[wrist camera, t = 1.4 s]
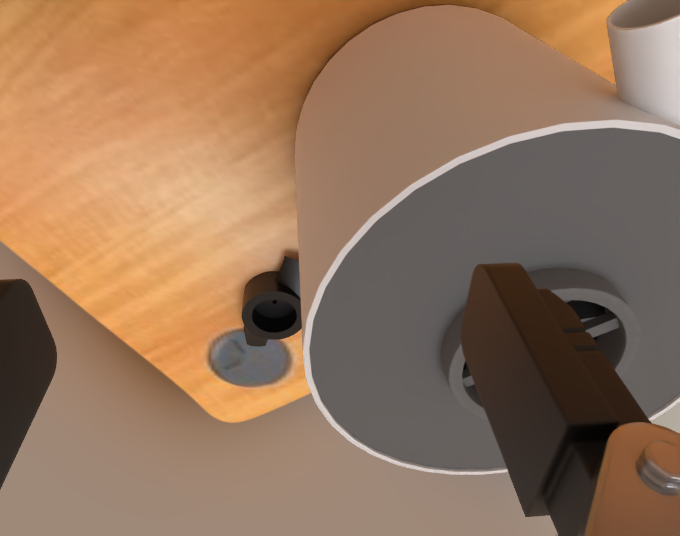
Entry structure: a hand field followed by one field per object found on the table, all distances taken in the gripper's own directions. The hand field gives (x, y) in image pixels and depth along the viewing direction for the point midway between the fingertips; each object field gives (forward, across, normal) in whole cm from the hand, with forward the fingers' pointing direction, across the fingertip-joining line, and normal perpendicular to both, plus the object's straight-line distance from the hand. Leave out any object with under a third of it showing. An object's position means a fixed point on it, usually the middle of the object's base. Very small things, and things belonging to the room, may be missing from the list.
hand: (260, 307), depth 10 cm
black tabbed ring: (+31, +2, +25) cm, 40 cm away
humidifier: (+31, -12, +8) cm, 34 cm away
